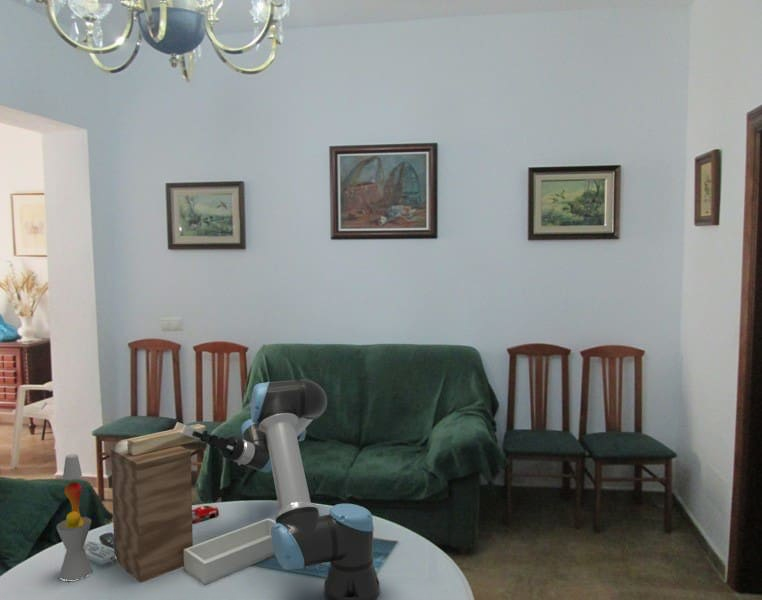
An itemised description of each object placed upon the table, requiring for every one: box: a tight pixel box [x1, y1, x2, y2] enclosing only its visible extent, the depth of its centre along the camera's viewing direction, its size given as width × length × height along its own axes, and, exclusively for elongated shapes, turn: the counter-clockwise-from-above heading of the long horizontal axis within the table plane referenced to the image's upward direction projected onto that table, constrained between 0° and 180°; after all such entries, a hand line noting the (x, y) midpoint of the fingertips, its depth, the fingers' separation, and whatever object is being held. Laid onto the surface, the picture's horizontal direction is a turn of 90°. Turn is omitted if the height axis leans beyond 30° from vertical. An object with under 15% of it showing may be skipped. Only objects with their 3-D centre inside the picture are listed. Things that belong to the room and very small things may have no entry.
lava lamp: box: [55, 453, 93, 580], centre depth 173 cm, size 9×9×35 cm
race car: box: [192, 505, 220, 525], centre depth 211 cm, size 13×5×4 cm, turn 128°
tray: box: [183, 517, 276, 585], centre depth 183 cm, size 12×30×6 cm, turn 136°
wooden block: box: [110, 438, 194, 583], centre depth 180 cm, size 18×16×37 cm
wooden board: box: [127, 423, 207, 456], centre depth 183 cm, size 4×23×4 cm, turn 136°
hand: (179, 427), depth 186 cm, fingers closed on wooden board, 4 cm apart
